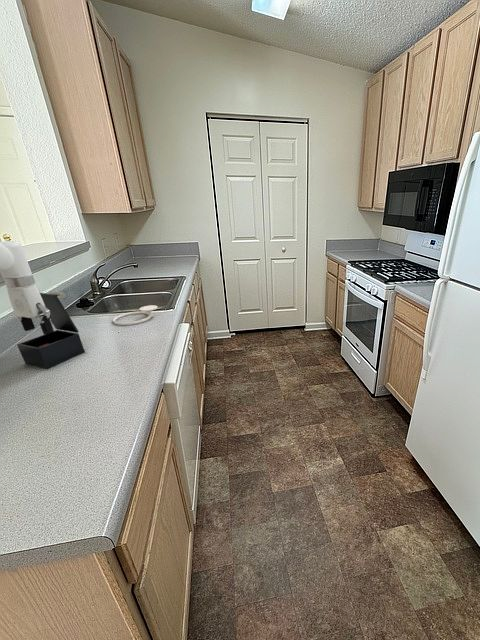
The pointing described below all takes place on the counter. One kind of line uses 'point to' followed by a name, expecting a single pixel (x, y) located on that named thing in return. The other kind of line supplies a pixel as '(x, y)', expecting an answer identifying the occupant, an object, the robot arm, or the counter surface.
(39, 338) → the open lidded box
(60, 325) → the box lid
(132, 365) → the counter surface
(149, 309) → the hand towel holder
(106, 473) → the counter surface
